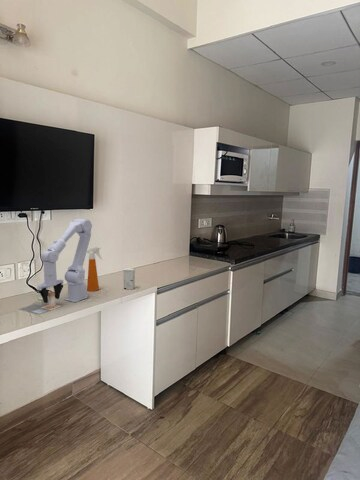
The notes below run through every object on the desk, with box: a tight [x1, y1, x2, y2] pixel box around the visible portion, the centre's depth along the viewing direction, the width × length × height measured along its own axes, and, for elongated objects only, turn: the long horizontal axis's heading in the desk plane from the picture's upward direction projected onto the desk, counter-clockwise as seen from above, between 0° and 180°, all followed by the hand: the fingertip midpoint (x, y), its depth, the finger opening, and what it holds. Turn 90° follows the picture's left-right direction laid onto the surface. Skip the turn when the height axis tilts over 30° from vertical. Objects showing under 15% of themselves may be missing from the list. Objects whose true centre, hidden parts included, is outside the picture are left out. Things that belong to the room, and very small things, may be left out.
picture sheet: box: [18, 303, 64, 315], centre depth 174 cm, size 15×15×1 cm
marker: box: [48, 291, 56, 308], centre depth 174 cm, size 3×3×8 cm
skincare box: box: [123, 267, 136, 290], centre depth 208 cm, size 6×4×12 cm
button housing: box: [34, 299, 48, 306], centre depth 179 cm, size 5×5×2 cm
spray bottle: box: [86, 246, 104, 292], centre depth 203 cm, size 7×11×26 cm, turn 71°
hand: (51, 300), depth 174 cm, fingers open, 7 cm apart
